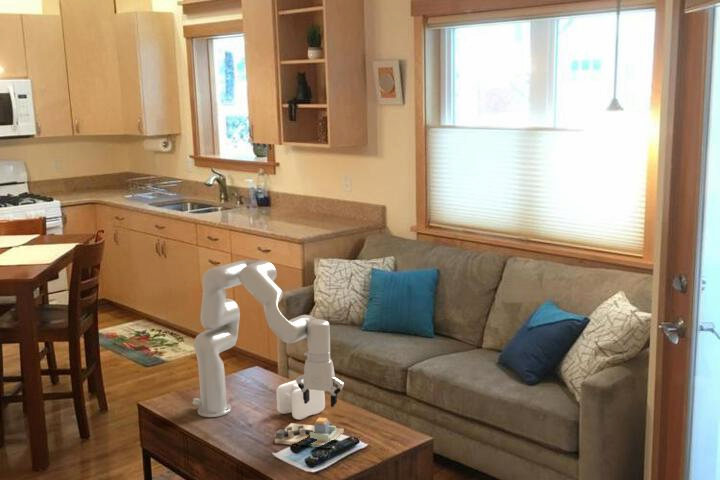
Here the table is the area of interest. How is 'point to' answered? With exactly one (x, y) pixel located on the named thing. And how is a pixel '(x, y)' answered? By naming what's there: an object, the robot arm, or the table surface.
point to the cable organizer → (298, 400)
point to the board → (309, 427)
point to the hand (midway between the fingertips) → (320, 403)
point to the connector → (322, 426)
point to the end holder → (324, 436)
